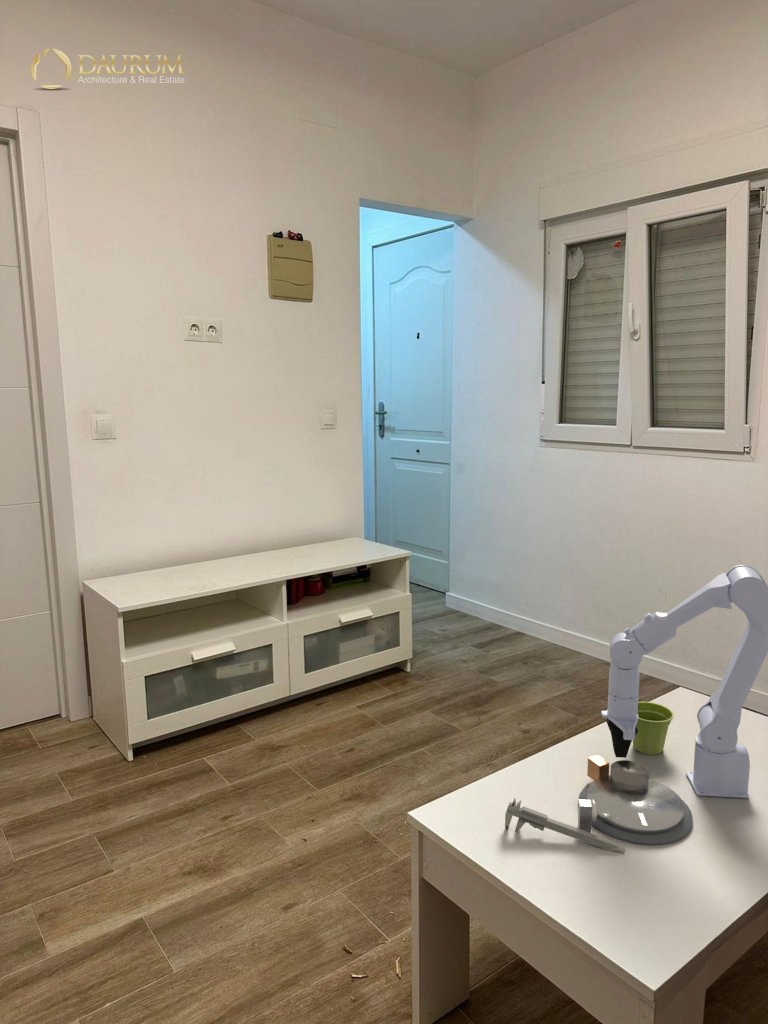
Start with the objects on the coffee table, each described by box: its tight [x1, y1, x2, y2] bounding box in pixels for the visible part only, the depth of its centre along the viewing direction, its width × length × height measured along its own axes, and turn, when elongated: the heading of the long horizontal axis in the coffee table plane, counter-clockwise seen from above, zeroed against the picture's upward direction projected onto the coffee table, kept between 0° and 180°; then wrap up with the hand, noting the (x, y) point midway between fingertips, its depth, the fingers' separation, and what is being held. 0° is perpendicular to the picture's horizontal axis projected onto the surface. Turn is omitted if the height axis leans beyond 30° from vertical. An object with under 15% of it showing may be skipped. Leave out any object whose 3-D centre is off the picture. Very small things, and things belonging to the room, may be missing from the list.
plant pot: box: [632, 701, 675, 756], centre depth 157 cm, size 9×9×9 cm
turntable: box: [586, 754, 684, 834], centre depth 136 cm, size 17×20×4 cm
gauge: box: [577, 799, 597, 833], centre depth 129 cm, size 3×4×6 cm
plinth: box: [577, 783, 694, 846], centre depth 135 cm, size 20×20×1 cm
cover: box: [609, 759, 650, 794], centre depth 139 cm, size 7×7×3 cm
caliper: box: [504, 797, 626, 854], centre depth 127 cm, size 20×1×6 cm, turn 70°
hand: (620, 755), depth 147 cm, fingers closed
